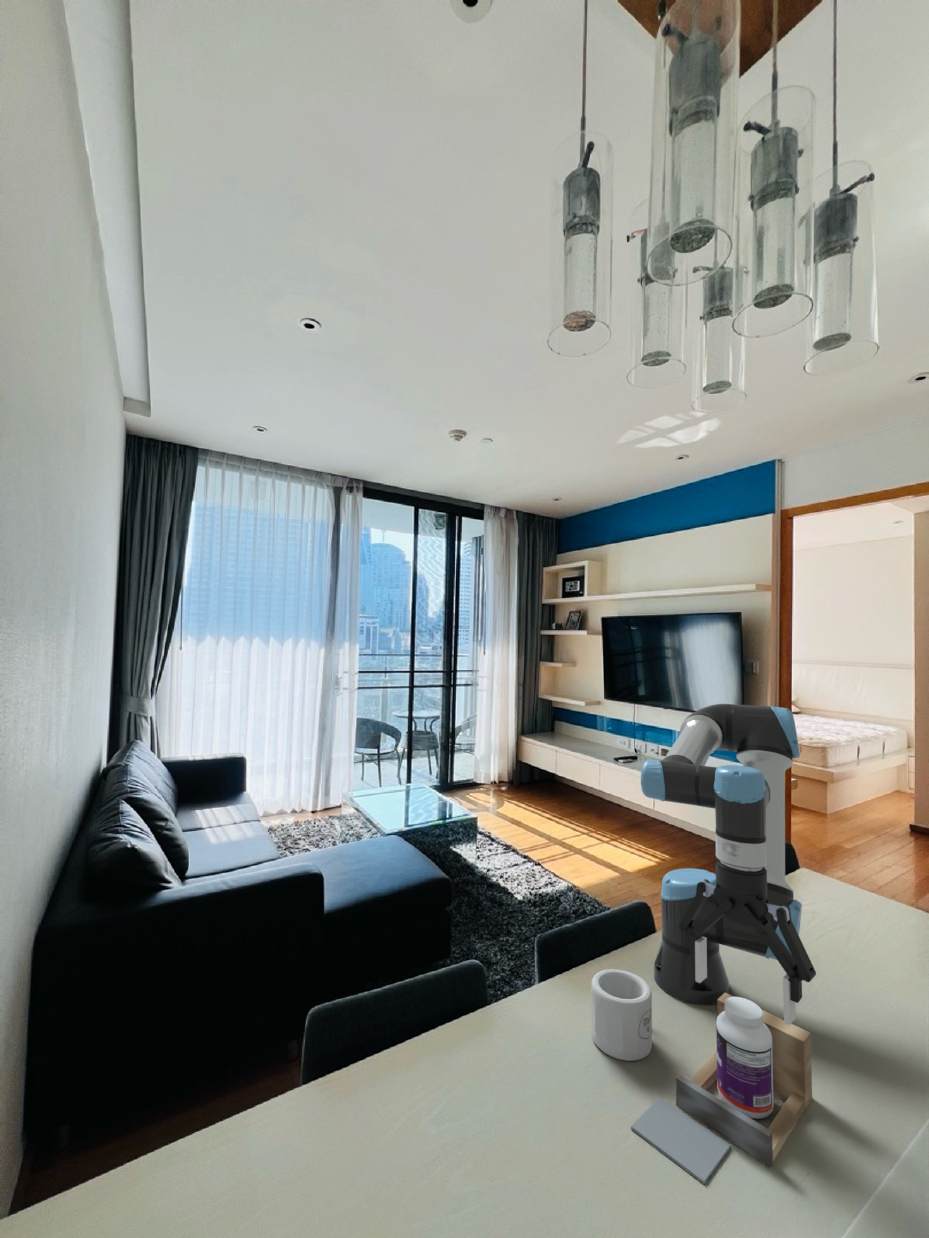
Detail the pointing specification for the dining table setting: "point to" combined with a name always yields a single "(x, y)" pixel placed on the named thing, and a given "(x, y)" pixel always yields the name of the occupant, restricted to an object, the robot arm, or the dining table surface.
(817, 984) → the dining table surface
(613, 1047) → the mug
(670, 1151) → the mat
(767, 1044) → the pill bottle
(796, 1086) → the wooden bottle holder
